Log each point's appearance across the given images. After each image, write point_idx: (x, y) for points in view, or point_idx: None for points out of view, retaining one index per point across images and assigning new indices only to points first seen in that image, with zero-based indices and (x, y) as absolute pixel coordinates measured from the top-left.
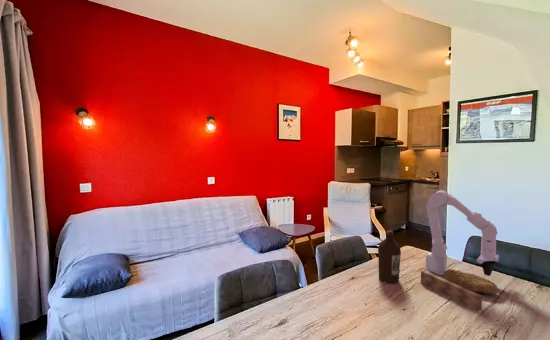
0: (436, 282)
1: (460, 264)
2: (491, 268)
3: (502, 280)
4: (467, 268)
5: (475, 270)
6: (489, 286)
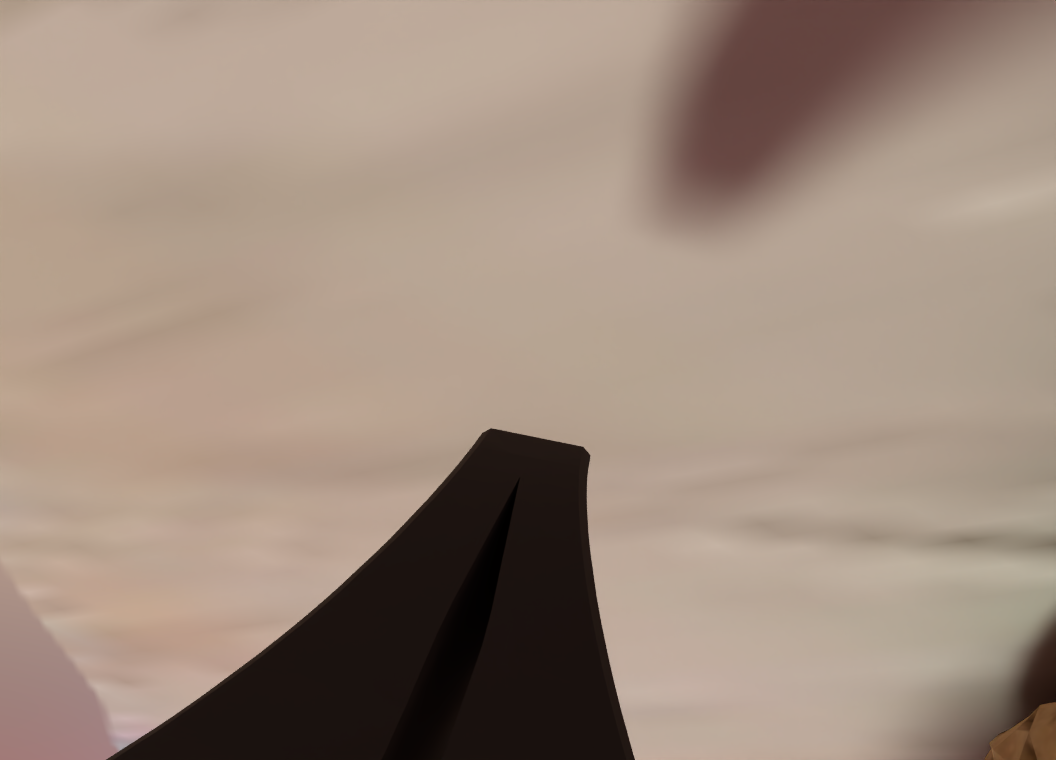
0: None
1: None
2: (467, 710)
3: (51, 155)
4: None
5: (190, 595)
6: None
